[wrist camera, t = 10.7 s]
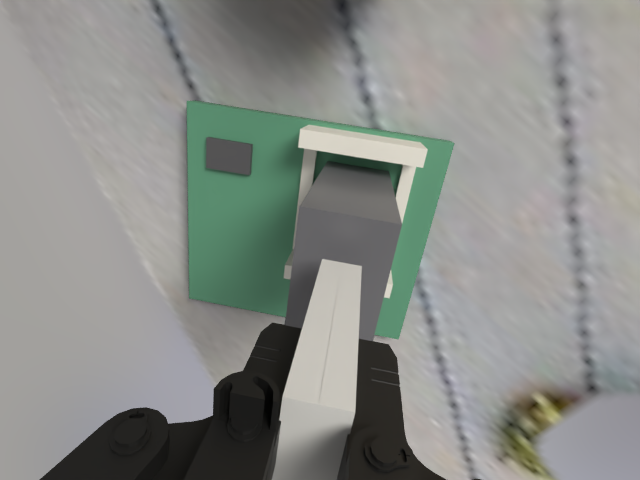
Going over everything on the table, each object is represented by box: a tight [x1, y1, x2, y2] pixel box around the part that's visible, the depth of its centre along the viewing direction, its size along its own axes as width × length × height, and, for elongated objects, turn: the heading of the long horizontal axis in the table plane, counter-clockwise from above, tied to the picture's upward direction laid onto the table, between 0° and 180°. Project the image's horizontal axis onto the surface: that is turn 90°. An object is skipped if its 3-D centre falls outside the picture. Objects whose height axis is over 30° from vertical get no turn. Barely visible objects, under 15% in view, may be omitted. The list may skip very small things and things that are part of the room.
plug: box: [285, 161, 402, 341], centre depth 19 cm, size 7×4×10 cm, turn 172°
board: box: [187, 101, 454, 339], centre depth 24 cm, size 15×17×4 cm
